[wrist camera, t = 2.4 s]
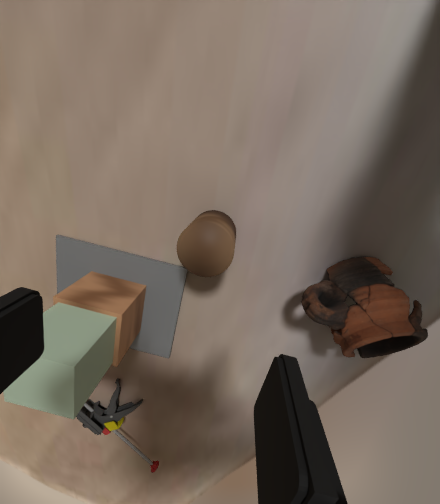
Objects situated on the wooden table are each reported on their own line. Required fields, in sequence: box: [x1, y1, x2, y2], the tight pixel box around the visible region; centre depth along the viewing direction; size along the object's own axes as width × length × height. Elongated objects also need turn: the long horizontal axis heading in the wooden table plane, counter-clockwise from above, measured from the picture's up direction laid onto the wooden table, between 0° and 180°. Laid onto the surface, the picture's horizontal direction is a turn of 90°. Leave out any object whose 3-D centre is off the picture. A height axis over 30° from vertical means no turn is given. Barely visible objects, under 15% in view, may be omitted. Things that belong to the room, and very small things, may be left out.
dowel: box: [177, 210, 236, 277], centre depth 22 cm, size 5×5×6 cm
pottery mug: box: [301, 257, 428, 358], centre depth 24 cm, size 12×10×8 cm
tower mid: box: [3, 302, 117, 419], centre depth 21 cm, size 6×6×6 cm
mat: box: [56, 235, 187, 358], centre depth 29 cm, size 16×14×1 cm
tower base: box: [53, 271, 146, 367], centre depth 26 cm, size 7×7×6 cm
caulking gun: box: [76, 379, 159, 473], centre depth 34 cm, size 4×37×10 cm
